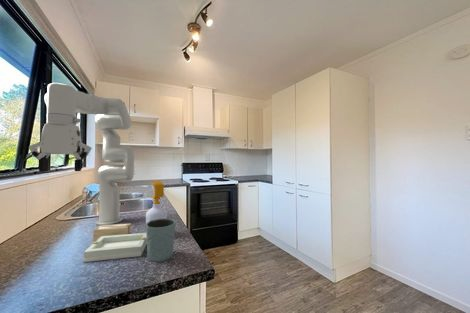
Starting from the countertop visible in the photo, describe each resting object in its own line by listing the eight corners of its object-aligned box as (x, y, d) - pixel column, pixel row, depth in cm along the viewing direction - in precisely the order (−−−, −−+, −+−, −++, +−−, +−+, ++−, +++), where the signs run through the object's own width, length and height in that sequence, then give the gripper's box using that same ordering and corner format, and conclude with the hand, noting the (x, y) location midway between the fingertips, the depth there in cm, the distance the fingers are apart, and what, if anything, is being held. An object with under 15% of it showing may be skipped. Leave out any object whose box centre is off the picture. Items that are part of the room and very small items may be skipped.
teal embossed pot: (161, 247, 78) (161, 216, 78) (181, 252, 73) (181, 220, 74) (138, 259, 69) (139, 224, 69) (160, 265, 64) (160, 228, 64)
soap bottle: (161, 229, 98) (161, 179, 98) (170, 234, 91) (170, 181, 91) (142, 234, 91) (143, 181, 92) (150, 240, 85) (150, 182, 85)
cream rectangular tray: (101, 243, 81) (101, 234, 81) (148, 239, 85) (148, 231, 85) (82, 262, 67) (83, 251, 67) (140, 255, 71) (141, 245, 71)
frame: (99, 236, 89) (99, 225, 89) (130, 234, 92) (130, 223, 92) (93, 242, 84) (93, 230, 84) (127, 239, 87) (127, 227, 87)
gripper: (95, 124, 74) (95, 170, 73) (38, 122, 69) (37, 171, 68) (86, 120, 66) (85, 171, 66) (21, 117, 62) (20, 172, 61)
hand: (61, 171), depth 67 cm, fingers open, 9 cm apart
